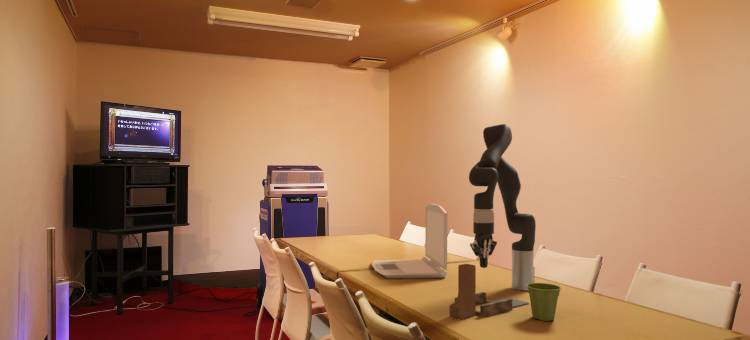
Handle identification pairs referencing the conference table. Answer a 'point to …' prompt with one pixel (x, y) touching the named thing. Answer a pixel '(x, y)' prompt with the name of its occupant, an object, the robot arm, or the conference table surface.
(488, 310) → the wooden frame
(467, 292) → the wooden block
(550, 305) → the plant pot
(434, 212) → the laptop
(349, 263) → the conference table surface
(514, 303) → the pad
